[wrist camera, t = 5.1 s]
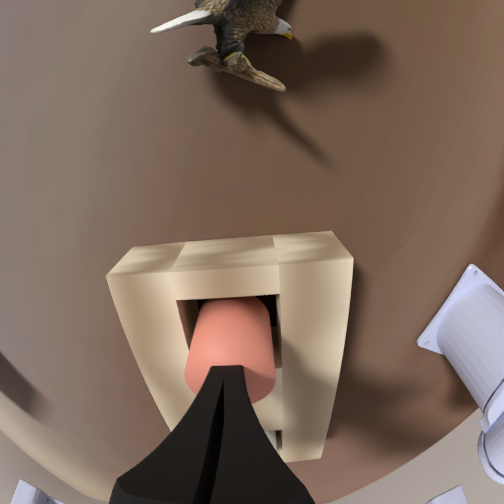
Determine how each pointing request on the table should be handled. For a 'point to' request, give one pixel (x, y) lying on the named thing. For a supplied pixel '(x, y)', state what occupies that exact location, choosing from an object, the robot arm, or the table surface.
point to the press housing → (237, 285)
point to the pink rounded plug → (233, 343)
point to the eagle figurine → (233, 35)
